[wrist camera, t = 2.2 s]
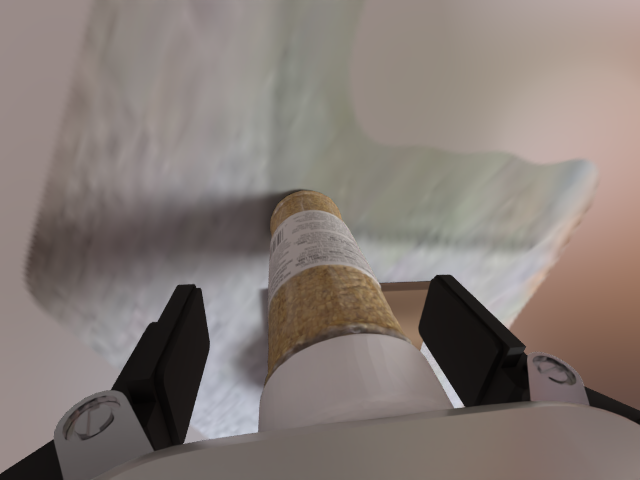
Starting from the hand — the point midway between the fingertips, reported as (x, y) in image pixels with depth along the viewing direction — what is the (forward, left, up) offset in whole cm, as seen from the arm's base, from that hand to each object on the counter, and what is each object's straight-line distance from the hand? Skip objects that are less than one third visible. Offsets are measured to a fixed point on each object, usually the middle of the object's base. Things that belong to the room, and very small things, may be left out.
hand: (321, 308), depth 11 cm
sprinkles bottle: (-1, 0, -8) cm, 8 cm away
